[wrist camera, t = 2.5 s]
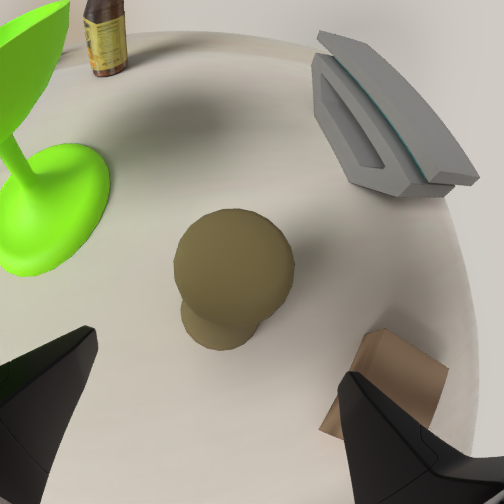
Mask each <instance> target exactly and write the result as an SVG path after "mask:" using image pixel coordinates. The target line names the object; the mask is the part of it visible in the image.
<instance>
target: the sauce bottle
mask: <svg viewBox="0 0 504 504" xmlns="http://www.w3.org/2000/svg"><path fill="white" fill-rule="evenodd" d="M83 17H84V18H83V19H84V26H85V34H86V41H87V47H88V53H89V59H90V64H91V68H92V69H93V73H94V75H95V76H97V77H101V76H109V75H113V74H115V73H118V72H120V71H121V70H123V69H124V68H125V67H126V65H127V44H126V30H125V11H124V0H88V1H87V4H86V8H85V11H84V15H83Z"/></svg>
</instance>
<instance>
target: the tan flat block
mask: <svg viewBox="0 0 504 504" xmlns="http://www.w3.org/2000/svg"><path fill="white" fill-rule="evenodd" d="M448 370H449V368H447V367H446V366H444V365H443V364H441V363H439V362H438V361H436V360H435V359H433V358H432V357H430V356H428V355H427V354H425V353H424V352H422V351H420V350H419V349H417V348H416V347H414V346H413V345H411V344H409V343H408V342H406V341H405V340H403V339H401V338H400V337H398V336H397V335H395V334H393V333H392V332H390V331H389V330H387V329H385V328H384V329H381V330H377V331H374V332H371V333H368V334H365V335H364V337H363V340H362V342H361V345H360V347H359V350H358V352H357V354H356V357H355V359H354V361H353V363H352V366H351V368H350V370H349V371H358V372H360V373H361V374H362V375H363V376H364V377H365V378H367V379H368V380H369V381H370V382H371V383H373V384H374V385H375V386H376V387H377V388H378V389H380V390H381V391H382V392H383V393H384V394H386V395H387V396H388V397H389V398H390V399H391V400H393V401H394V402H395V403H396V404H397V405H399V406H400V407H401V408H402V409H403V410H405V411H406V412H407V413H408V414H409V415H411V416H412V417H413V418H414V419H415V420H417V421H418V422H419V423H420V424H422V425H423V426H424V427H425V428H426V429H428V428H429V426H430V423H431V421H432V418H433V415H434V413H435V410H436V408H437V405H438V402H439V399H440V396H441V393H442V390H443V387H444V384H445V380H446V377H447V374H448ZM319 430H320V431H323V432H325V433H327V434H330V435H332V436H334V437H337V438H339V439H342V440H344V438H343V433H342V428H341V422H340V411H339V401H338V395H337V397H336V399H335V401H334V403H333V405H332V406H331V408H330V410H329V412H328V414H327V416H326V418H325V419H324V421H323V423H322V425H321V426H320V428H319Z"/></svg>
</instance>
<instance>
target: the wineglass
mask: <svg viewBox="0 0 504 504" xmlns="http://www.w3.org/2000/svg"><path fill="white" fill-rule="evenodd" d="M69 6H70V1H69V0H62V1H57V2H54V3H51V4H48V5H45V6H42V7H39V8H37V9H35V10H32V11H30V12H28V13H26V14H23V15H21V16H19V17H18V18H15V19H14V20H12V21H10V22H8V23H6V24H5V25H3V26H1V27H0V157H1V159H2V160H3V162H4V164H5V165H6V167H7V168H8V170H9V171H10V173H11V174H12V175H11V176H10V177H9V178H8V180H7V181H6V182H5V184H4V185H3V187H2V189H1V191H0V265H1V266H2V267H3V268H4V269H5V270H6V271H7V272H9V273H11V274H14V275H17V276H19V277H26V276H37V275H40V274H42V273H45V272H48V271H50V270H53V269H54V268H56V267H57V266H59V265H60V264H61V263H63V262H64V261H66V260H67V259H69V258H70V257H71V256H72V255H73V254H74V253H75V252H76V251H77V250H78V249H79V248H80V247H81V246H82V245H83V244H84V243H85V242H86V241H87V239H88V238H89V236H90V234H91V233H92V231H93V230H94V228H95V227H96V225H97V224H98V222H99V221H100V218H101V216H102V213H103V211H104V209H105V206H106V204H107V201H108V195H109V189H110V178H109V169H108V167H107V165H106V164H105V162H104V160H103V158H102V157H101V156H100V155H99V154H98V153H97V152H95V151H94V150H93V149H92V148H89V147H87V146H84V145H81V144H67V143H65V144H60V145H56V146H51V147H49V148H47V149H44V150H42V151H40V152H38V153H36V154H35V155H33V156H32V157H30V158H29V159H27V160H26V158H25V157H24V155H23V153H22V151H21V149H20V148H19V146H18V144H17V142H16V140H15V138H14V136H13V135H12V133H13V132H14V131H15V130H16V129H17V128H18V127H19V126H20V124H21V123H22V122H23V121H24V119H25V118H26V117H27V116H28V114H29V112H30V111H31V109H32V108H33V106H34V105H35V103H36V102H37V100H38V99H39V97H40V96H41V94H42V93H43V91H44V90H45V88H46V87H47V85H48V83H49V80H50V78H51V76H52V73H53V71H54V69H55V67H56V64H57V62H58V60H59V58H60V56H61V53H62V50H63V46H64V42H65V38H66V34H67V31H68V27H69Z"/></svg>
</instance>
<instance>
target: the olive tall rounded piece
mask: <svg viewBox="0 0 504 504" xmlns="http://www.w3.org/2000/svg"><path fill="white" fill-rule="evenodd" d="M294 266H295V263H294V259H293V254H292V250H291V247H290V245H289V243H288V242H287V240H286V238H285V236H284V235H283V233H282V232H281V231H280V230H279V229H278V228H277V227H276V226H275V225H274V224H273V223H272V222H271V221H270V220H269V219H267V218H265V217H263V216H261V215H259V214H257V213H256V212H252V211H248V210H243V209H222V210H219V211H216V212H213V213H210V214H207V215H204V216H203V217H201V218H200V219H199V220H197V221H196V222H195V223H193V224H192V225H190V227H189V228H188V230H187V231H186V232H185V234H184V235H183V237H182V238H181V239H180V242H179V244H178V248H177V251H176V254H175V258H174V277H175V282H176V285H177V287H178V289H179V292H180V294H181V296H182V299H183V301H182V305H181V316H182V322H183V324H184V327H185V329H186V331H187V333H188V334H189V335H190V336H191V337H192V338H193V339H194V340H195V342H197V343H199V344H201V345H202V346H204V347H206V348H209V349H214V350H219V351H222V350H230V349H234V348H236V347H238V346H241V345H243V344H244V343H245V342H246V341H247V340H249V339H250V338H251V337H252V336H253V334H254V332H255V330H256V328H257V326H258V324H259V322H260V321H262V320H264V319H267V318H268V317H270V316H271V315H272V314H273V313H274V312H275V311H276V310H277V309H278V308H279V307H280V306H281V305H282V304H283V303H284V302H285V300H286V298H287V296H288V293H289V291H290V289H291V287H292V283H293V276H294Z"/></svg>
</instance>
